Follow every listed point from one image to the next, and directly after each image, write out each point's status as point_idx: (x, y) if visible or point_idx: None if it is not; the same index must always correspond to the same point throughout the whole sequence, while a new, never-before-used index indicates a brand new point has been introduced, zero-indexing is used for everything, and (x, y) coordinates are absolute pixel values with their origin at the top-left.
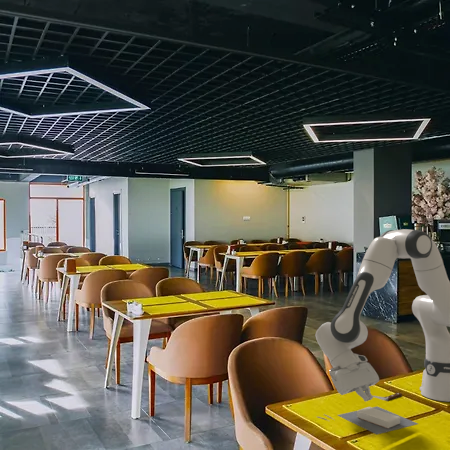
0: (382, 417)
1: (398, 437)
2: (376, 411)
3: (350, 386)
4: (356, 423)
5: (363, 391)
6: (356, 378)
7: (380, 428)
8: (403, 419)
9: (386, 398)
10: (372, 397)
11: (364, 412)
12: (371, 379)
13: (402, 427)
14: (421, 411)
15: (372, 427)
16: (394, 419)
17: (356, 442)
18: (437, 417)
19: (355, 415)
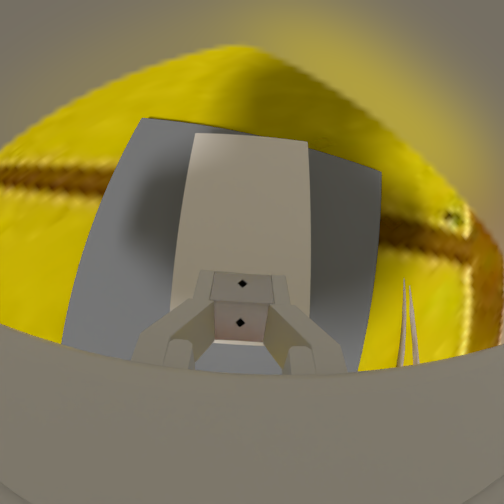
0: (276, 184)
1: (311, 123)
2: (211, 257)
3: (498, 362)
4: (365, 294)
5: (296, 329)
6: (351, 497)
7: (322, 185)
8: (132, 171)
9: None
10: (206, 270)
11: (292, 298)
12: (10, 356)
13: (230, 131)
14: (6, 199)
15: (343, 215)
16: (249, 136)
17: (453, 208)
18: (34, 139)
19: (271, 368)
